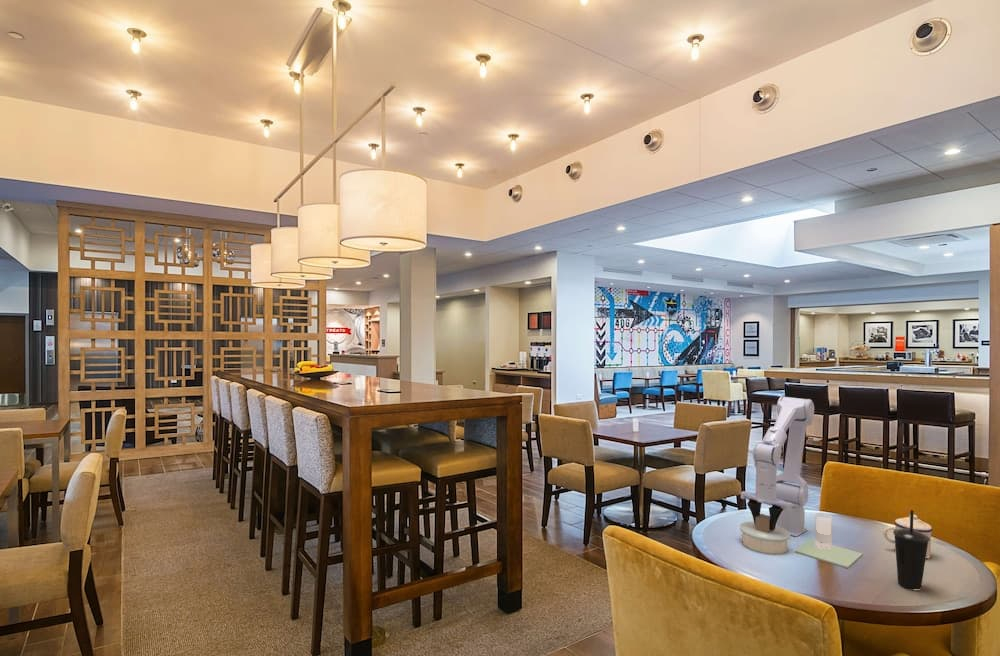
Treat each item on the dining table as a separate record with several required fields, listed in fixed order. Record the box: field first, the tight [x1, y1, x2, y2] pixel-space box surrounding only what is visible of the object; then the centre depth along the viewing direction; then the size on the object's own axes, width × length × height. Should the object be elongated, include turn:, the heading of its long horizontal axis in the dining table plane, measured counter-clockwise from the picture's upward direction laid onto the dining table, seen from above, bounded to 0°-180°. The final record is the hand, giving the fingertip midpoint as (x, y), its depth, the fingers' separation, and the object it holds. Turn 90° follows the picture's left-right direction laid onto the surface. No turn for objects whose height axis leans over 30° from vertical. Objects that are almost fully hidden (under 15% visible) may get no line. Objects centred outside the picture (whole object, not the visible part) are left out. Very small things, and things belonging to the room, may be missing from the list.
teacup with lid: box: [883, 514, 933, 557], centre depth 165 cm, size 12×9×12 cm
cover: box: [739, 513, 791, 542], centre depth 168 cm, size 14×14×5 cm
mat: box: [793, 538, 864, 570], centre depth 163 cm, size 14×14×1 cm
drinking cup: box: [892, 509, 930, 590], centre depth 143 cm, size 8×8×20 cm
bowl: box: [741, 532, 788, 555], centre depth 168 cm, size 12×12×4 cm
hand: (764, 527), depth 168 cm, fingers closed on cover, 4 cm apart
